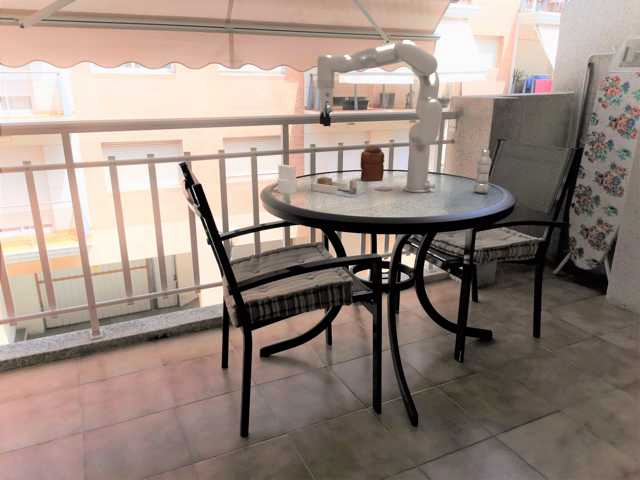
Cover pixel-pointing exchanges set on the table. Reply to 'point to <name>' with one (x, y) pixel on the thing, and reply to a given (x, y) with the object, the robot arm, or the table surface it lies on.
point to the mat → (350, 194)
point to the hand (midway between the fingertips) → (325, 125)
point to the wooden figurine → (372, 164)
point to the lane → (329, 187)
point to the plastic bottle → (482, 172)
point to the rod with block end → (329, 182)
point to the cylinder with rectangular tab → (287, 179)
